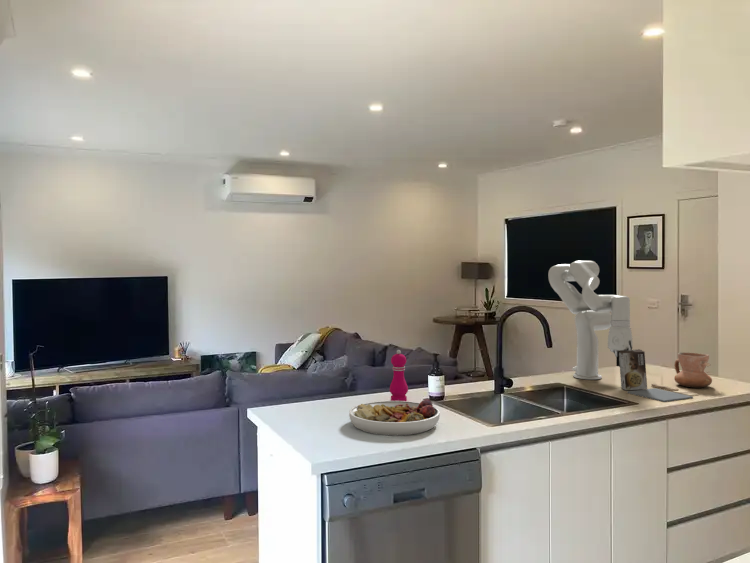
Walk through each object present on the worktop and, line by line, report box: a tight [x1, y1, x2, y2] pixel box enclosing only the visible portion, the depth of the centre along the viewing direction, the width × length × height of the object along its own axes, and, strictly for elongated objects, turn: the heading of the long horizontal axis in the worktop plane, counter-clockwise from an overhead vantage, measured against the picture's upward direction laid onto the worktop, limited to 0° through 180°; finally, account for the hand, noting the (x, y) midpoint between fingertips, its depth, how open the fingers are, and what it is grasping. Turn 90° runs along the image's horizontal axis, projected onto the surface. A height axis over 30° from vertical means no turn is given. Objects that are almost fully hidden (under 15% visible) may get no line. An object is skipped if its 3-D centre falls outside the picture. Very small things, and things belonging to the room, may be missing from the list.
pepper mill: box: [389, 349, 409, 401], centre depth 234 cm, size 7×7×20 cm
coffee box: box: [619, 348, 648, 391], centre depth 254 cm, size 9×6×16 cm
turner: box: [651, 383, 699, 397], centre depth 251 cm, size 20×5×1 cm, turn 24°
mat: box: [626, 387, 694, 403], centre depth 242 cm, size 18×16×1 cm
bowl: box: [348, 398, 441, 437], centre depth 199 cm, size 30×30×8 cm
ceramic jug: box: [674, 351, 713, 389], centre depth 261 cm, size 18×14×14 cm
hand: (620, 366), depth 261 cm, fingers closed
